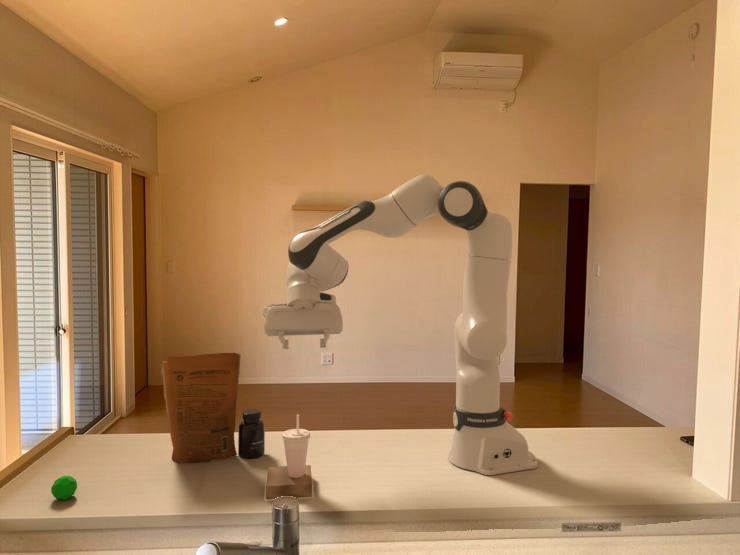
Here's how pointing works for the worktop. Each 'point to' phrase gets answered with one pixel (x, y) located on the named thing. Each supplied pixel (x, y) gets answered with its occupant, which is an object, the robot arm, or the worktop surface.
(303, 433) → the smoothie
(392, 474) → the worktop surface
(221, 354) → the pancake mix bag
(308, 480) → the base block
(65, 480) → the polyhedron
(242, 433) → the supplement bottle
